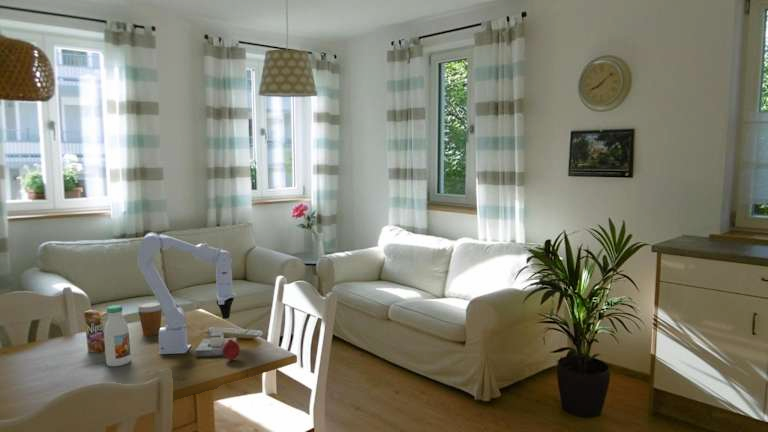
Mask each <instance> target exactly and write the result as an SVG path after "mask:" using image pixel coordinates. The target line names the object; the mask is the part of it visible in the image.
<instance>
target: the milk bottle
mask: <svg viewBox="0 0 768 432" xmlns="http://www.w3.org/2000/svg"><path fill="white" fill-rule="evenodd" d="M106 309H107V310H106V311H107V312H108V321H107V323H106V326H105V329H104V340H105V354H104V355H105V362H106V365H107V366H109V367H120V366H124V365H127V364H129V363H130V362H131V359H132V358H131V343H130V332H129V331H130V330H129V327H128V324H127V321H126V320H125V319H124V316H123V306H122V305H120V304H113V305H110V306H107V308H106Z"/></svg>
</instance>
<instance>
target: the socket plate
mask: <svg viewBox="0 0 768 432" xmlns="http://www.w3.org/2000/svg"><path fill="white" fill-rule="evenodd" d="M229 338H231V339H232V340H233V341H235V342H236V343H237V337H223V339H224V344H223V345H222V346H213V347H210V338H202V341H201V342H200V343H199V344H198V346H197V347H196V349H195V350H194V351H195V352H194V353H195V354H194V355H195V358H207V357H208V358H212V357H213V358H215V357H224V355H223V353H222V349H223V346H224V345H225V343H226V342H228V340H229Z"/></svg>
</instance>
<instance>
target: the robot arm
mask: <svg viewBox="0 0 768 432" xmlns="http://www.w3.org/2000/svg"><path fill="white" fill-rule="evenodd" d="M161 248H162V249H161ZM168 249H173V250H178V251H181V252H185V253H189V254H192V255H193V257H194V258H195V259H197V260H200V261H203V262H206V263H210V264H215V267H216V268H215V281H216V282H215V283H216V298H217V300H216V305H217V306H218V307H219V310H220V313H221V317H222V319H223V320H225V319H229V318H230V315H231V309H232V305H233V302H234V299H235V298H234V297H236V296H237V293H236V292H235V293H234V290H233V289H234V288H233V273H232V272H233V271H232V262H233V258H232V255H231V254H230V252H229V251H227V250H225V248H224V249H223V248H221V247H217V248H216V247H213V246H211V245H209V244H208V243H207V242H204V243H199V244H196V245H195V244H192V243H190V242H188V241H184V240H181V239H178V238H175V237H173V236H169V235H165V234H162V233H160V234H159V233H157V232H152V231H151V232H148V233H146V234H145V235H144V237H143V238H142V240H141V242H140V245H139V246H138V253H137V254H138V255H137V261H136V264H137V268H139V270H140V272H141V274H142V275H143V277H144V278H145V280H146V282H147V284H148V286H149V288H150V290H151V292H152V294H153V295H154V297H155V298H156V301H158V302H159V303H160V305H161V307H162V312H163V315H164V317H165V323H166V324H165V326H162V327H160V330H159V334H157V335H158V346H159V347H158V349H159V350H158V351H159V352H158V354H159V355H171V354H173V355H174V354H176V355H177V354H186V353H187V352H188V351H189V349H190V348H191V346H192V344H188V329H187V323H186V322H185V321H186V318H185V310H184V308H182V307H181V306H180V305H178V303H177V301H176V300H175V298H173V296H172V294H171V292H170V290H169V289H168V286H166V284H165V282H164V280H163V278H162V276H161V275H160V273H159V271H158V269H157V268H156V266H155V264H154V262H153V261H154V259H155V256H156V255H157V254H158V252H159V251H160V250H162V251H166V250H168Z"/></svg>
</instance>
